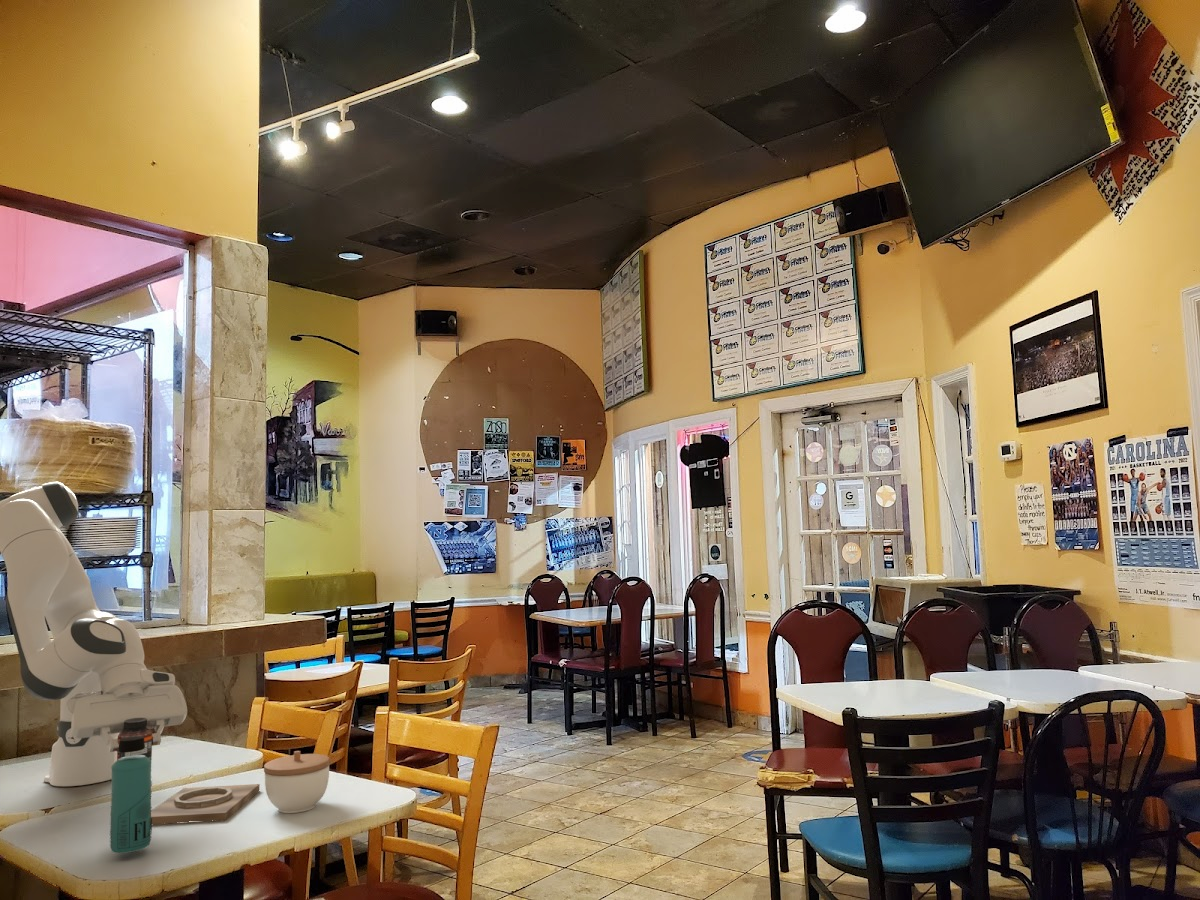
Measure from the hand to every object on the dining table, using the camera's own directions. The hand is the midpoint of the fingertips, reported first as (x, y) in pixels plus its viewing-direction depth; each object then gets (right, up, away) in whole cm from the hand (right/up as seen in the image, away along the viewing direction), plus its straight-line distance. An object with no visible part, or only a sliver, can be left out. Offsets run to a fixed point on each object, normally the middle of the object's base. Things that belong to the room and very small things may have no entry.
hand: (135, 746), depth 169 cm
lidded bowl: (+29, -15, +7) cm, 33 cm away
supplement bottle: (0, -6, 0) cm, 7 cm away
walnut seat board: (+8, -16, +10) cm, 21 cm away
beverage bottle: (+8, -13, -17) cm, 23 cm away
